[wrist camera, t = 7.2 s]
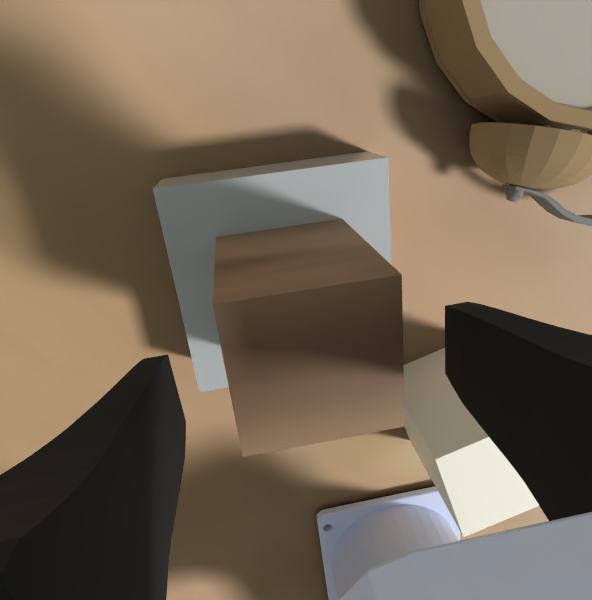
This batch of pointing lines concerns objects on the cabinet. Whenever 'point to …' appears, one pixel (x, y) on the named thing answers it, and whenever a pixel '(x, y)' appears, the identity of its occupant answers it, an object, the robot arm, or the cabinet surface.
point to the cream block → (459, 450)
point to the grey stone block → (259, 226)
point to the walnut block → (308, 335)
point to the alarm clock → (521, 88)
